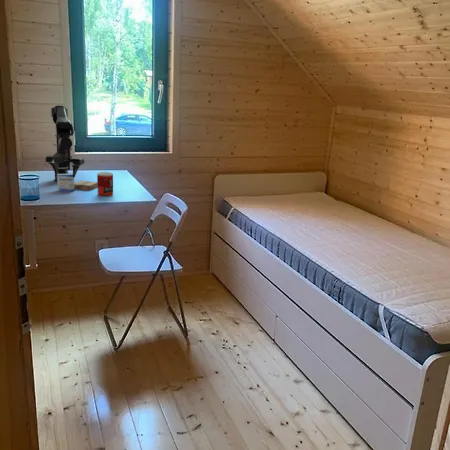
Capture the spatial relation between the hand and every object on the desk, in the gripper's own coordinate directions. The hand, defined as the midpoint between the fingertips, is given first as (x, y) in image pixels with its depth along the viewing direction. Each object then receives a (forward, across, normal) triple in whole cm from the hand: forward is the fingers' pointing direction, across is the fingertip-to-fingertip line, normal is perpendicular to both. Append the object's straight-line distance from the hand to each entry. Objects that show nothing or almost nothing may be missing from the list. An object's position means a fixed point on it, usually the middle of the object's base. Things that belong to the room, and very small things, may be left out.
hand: (65, 176), depth 246 cm
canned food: (+7, +22, -1) cm, 23 cm away
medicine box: (+8, 0, 0) cm, 8 cm away
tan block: (+8, +6, +10) cm, 14 cm away
